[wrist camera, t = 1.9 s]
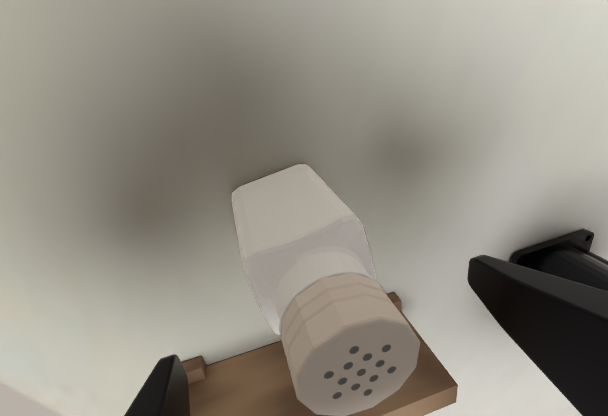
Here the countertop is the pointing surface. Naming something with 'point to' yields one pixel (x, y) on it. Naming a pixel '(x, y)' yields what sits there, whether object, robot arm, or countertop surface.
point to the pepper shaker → (321, 292)
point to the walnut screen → (281, 394)
